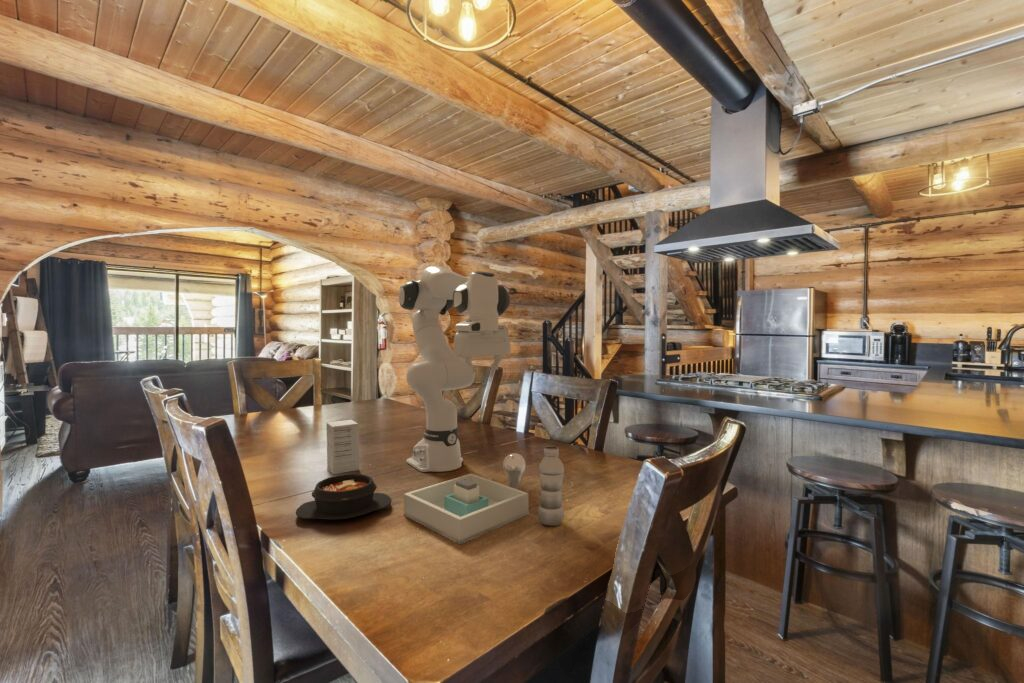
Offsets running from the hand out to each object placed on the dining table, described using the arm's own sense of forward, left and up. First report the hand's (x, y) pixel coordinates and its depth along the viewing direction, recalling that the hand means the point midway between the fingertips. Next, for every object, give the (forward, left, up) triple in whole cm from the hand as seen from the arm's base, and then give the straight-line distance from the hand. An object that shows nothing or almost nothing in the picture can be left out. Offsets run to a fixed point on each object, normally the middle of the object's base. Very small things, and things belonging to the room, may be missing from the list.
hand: (483, 371), depth 139 cm
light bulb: (+5, +9, -38) cm, 39 cm away
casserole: (-18, -35, -38) cm, 55 cm away
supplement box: (-55, -18, -38) cm, 70 cm away
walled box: (+8, -13, -38) cm, 41 cm away
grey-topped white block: (+8, -13, -37) cm, 40 cm away
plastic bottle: (+28, -1, -38) cm, 47 cm away
